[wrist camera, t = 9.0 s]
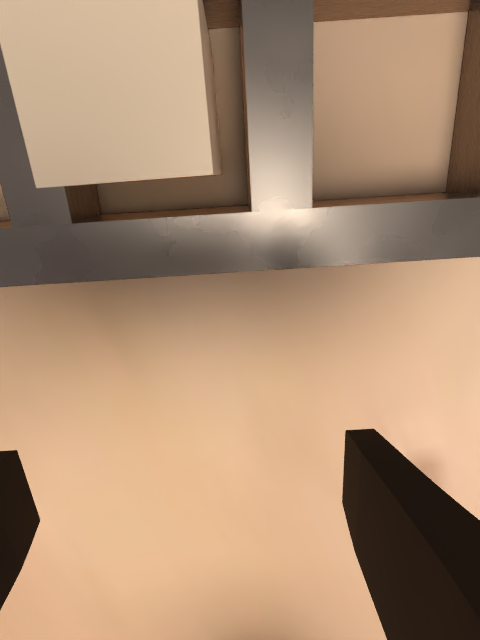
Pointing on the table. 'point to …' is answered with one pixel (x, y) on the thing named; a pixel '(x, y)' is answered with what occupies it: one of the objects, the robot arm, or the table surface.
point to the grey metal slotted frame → (251, 176)
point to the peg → (112, 89)
